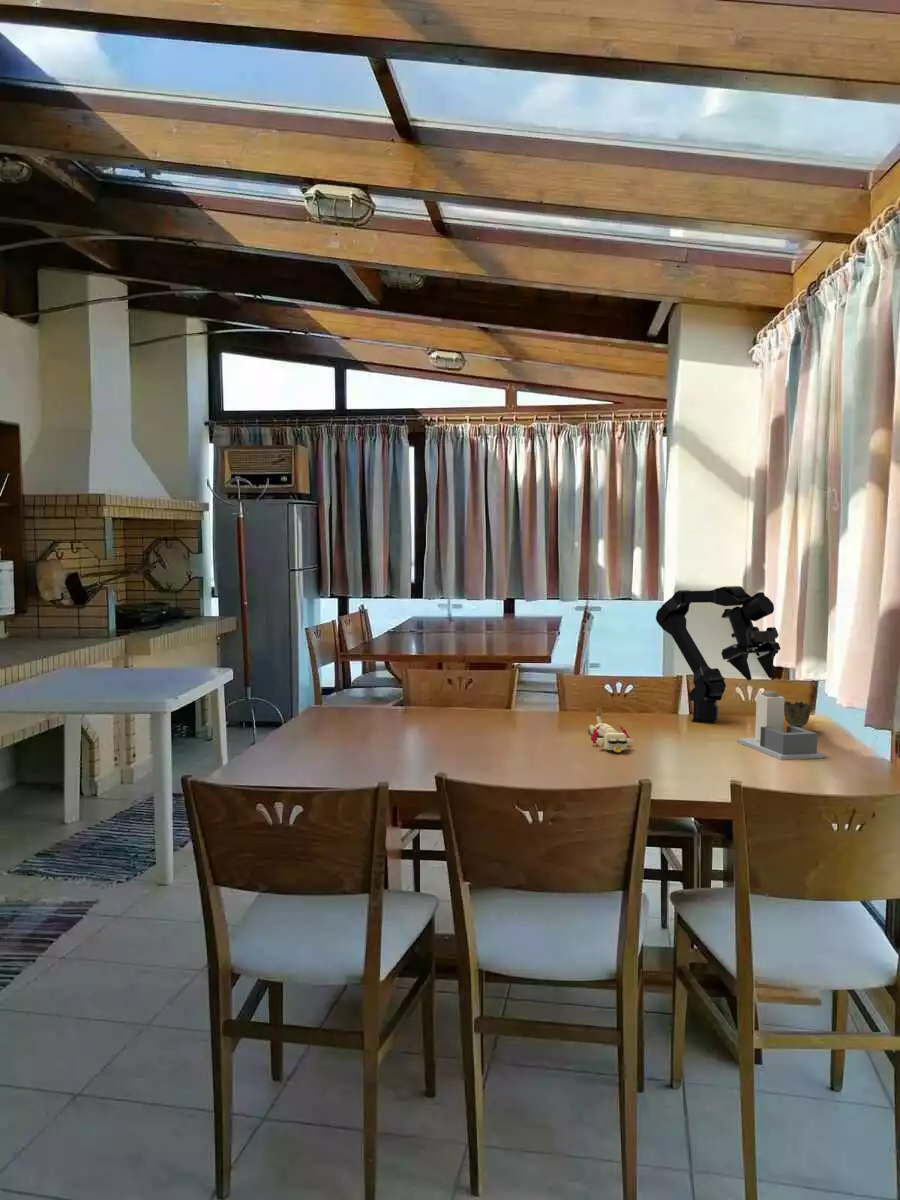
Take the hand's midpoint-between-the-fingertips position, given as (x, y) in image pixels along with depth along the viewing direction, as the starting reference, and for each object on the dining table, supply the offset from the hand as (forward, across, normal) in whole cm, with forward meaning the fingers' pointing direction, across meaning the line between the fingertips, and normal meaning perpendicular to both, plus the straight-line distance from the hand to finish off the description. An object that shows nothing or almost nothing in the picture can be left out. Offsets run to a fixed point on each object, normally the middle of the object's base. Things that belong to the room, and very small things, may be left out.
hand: (760, 679), depth 254 cm
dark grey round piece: (+15, +13, +4) cm, 20 cm away
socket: (+21, -12, -8) cm, 26 cm away
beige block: (+18, -11, -4) cm, 21 cm away
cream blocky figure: (+9, -47, +17) cm, 51 cm away
